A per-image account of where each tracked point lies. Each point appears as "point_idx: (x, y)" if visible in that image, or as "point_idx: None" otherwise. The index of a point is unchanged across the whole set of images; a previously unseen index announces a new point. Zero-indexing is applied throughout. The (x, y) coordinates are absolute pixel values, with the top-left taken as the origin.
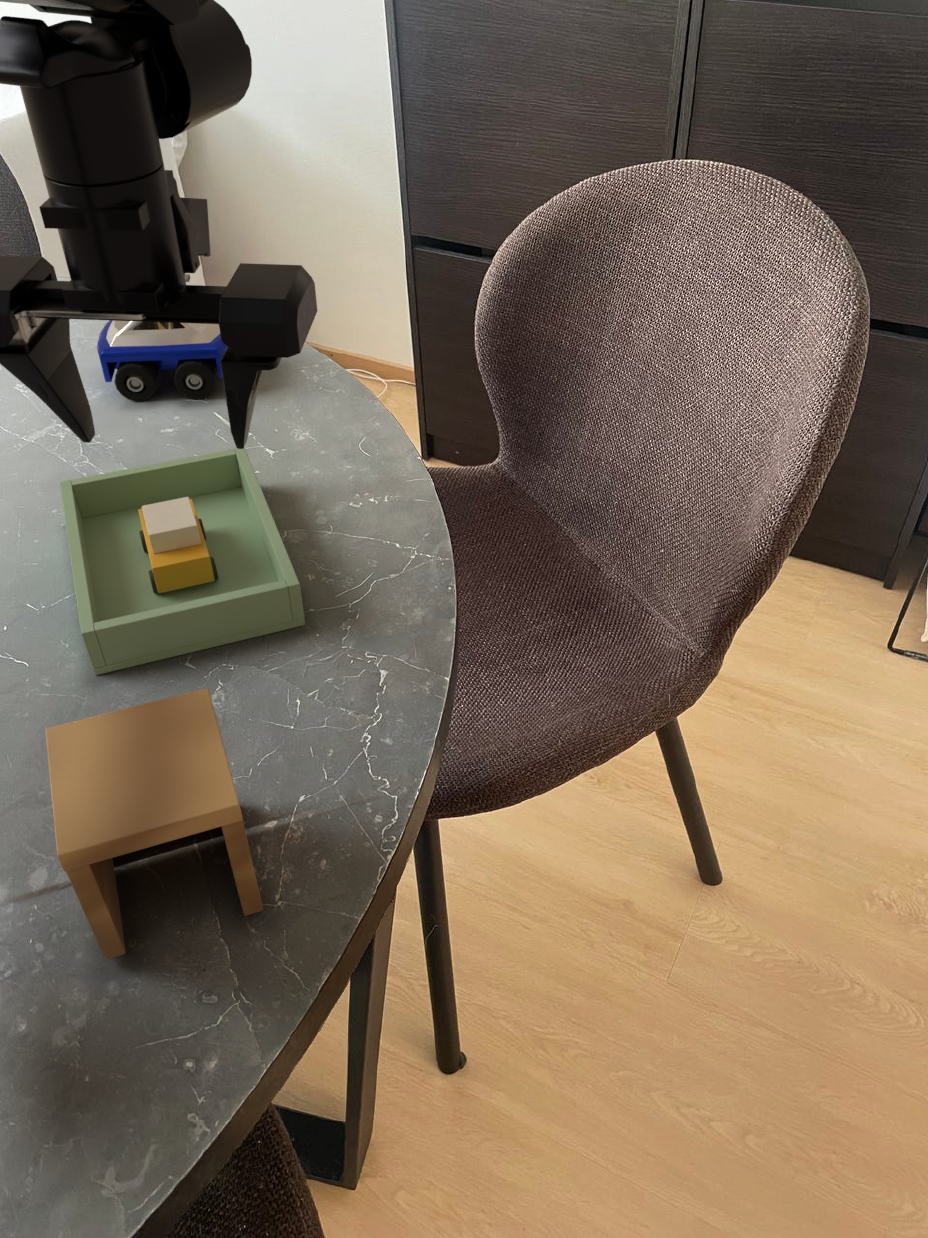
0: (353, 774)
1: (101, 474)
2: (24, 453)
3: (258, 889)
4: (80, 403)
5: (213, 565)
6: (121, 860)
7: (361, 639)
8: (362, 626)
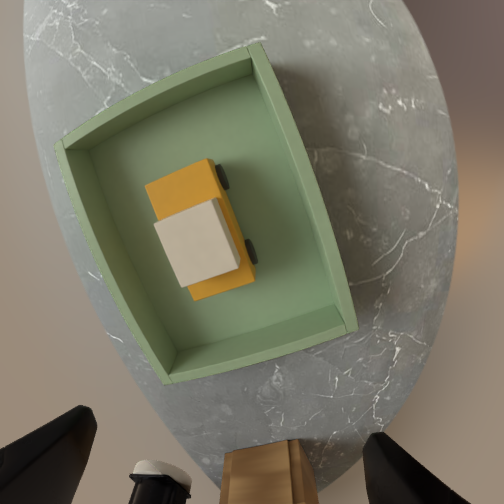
0: (364, 418)
1: (88, 122)
2: (32, 56)
3: (315, 481)
4: (63, 466)
5: (254, 261)
6: None
7: (388, 318)
8: (391, 303)
